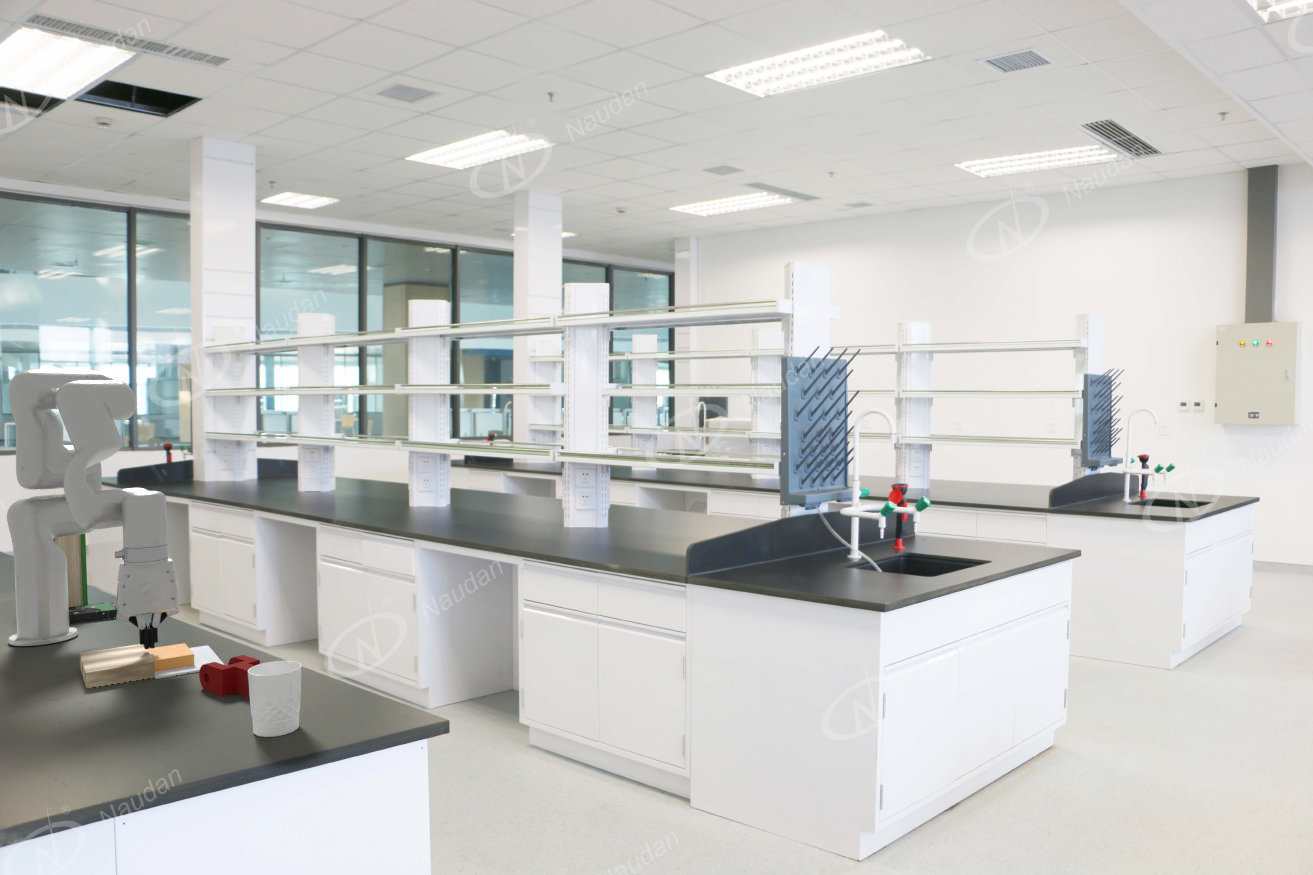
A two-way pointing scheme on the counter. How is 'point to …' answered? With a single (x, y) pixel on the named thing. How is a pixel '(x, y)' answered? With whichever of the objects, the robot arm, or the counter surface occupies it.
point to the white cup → (275, 697)
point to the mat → (200, 658)
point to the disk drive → (92, 612)
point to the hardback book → (75, 568)
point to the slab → (172, 657)
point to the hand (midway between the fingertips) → (148, 647)
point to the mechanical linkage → (227, 676)
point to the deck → (116, 665)
